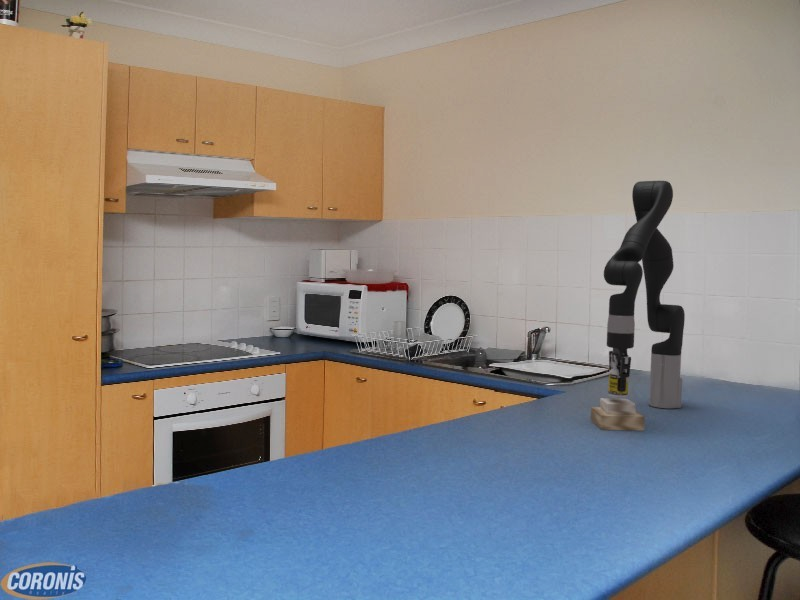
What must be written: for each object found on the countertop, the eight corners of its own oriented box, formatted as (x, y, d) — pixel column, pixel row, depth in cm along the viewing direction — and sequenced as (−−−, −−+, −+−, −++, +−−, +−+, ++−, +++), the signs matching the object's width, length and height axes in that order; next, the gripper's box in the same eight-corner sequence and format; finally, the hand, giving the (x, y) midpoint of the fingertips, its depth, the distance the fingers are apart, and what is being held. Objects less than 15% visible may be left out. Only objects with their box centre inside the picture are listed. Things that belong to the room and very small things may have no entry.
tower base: (631, 421, 231) (632, 397, 230) (644, 430, 219) (645, 405, 218) (590, 420, 231) (591, 396, 230) (601, 429, 219) (602, 405, 218)
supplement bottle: (606, 396, 223) (607, 362, 222) (610, 393, 228) (611, 360, 227) (625, 398, 220) (626, 364, 220) (629, 395, 225) (630, 362, 225)
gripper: (641, 333, 216) (639, 394, 217) (626, 328, 230) (623, 385, 231) (614, 333, 216) (612, 393, 217) (601, 327, 230) (598, 384, 231)
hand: (618, 389), depth 224 cm, fingers closed on supplement bottle, 5 cm apart
